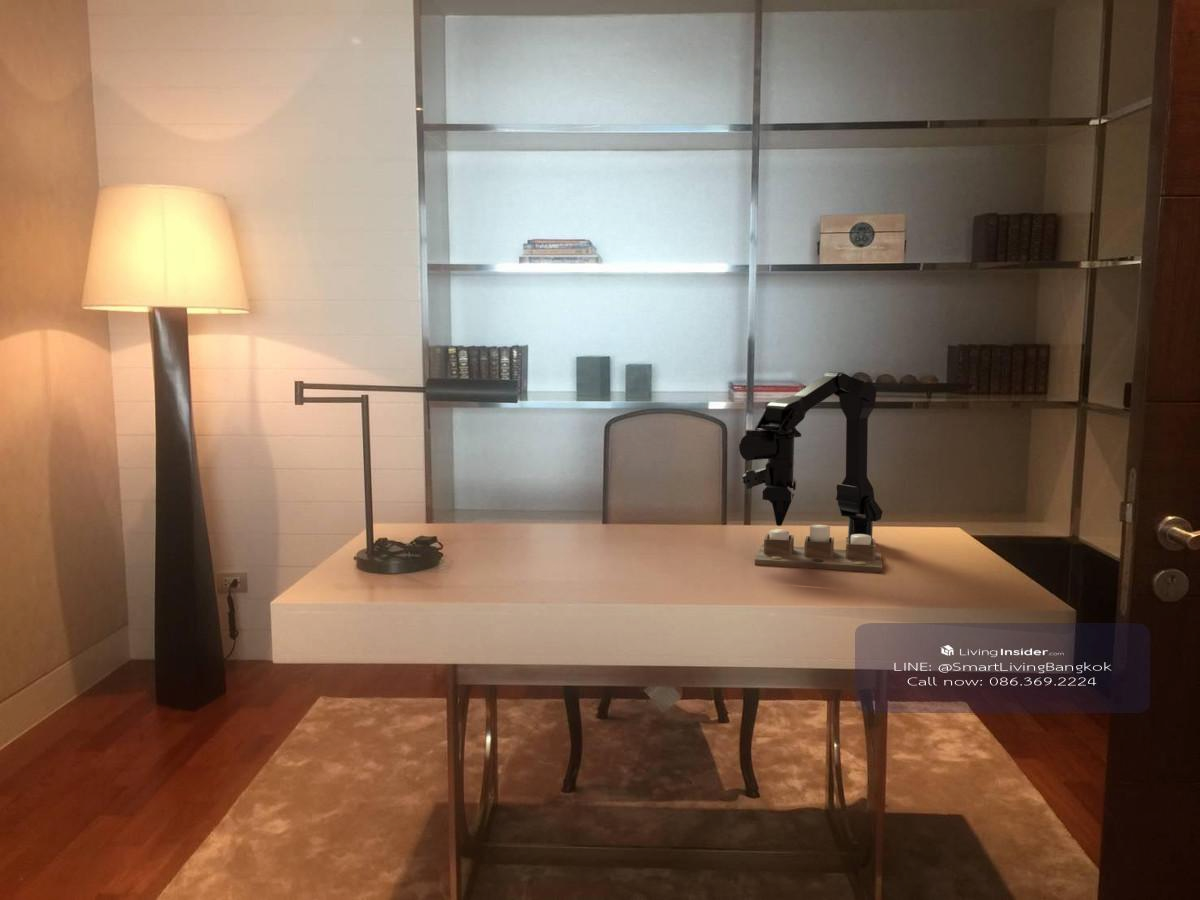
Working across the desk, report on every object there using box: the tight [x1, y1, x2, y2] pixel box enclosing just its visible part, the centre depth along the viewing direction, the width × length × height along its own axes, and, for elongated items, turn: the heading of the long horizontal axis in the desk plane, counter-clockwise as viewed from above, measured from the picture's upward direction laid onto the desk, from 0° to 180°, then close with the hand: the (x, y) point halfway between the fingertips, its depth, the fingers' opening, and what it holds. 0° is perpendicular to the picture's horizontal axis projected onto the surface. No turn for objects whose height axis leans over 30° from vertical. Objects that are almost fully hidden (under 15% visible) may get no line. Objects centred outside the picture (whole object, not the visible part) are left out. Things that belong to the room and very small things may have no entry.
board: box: [754, 533, 883, 574], centre depth 212 cm, size 15×27×4 cm, turn 75°
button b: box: [809, 524, 831, 543], centre depth 213 cm, size 4×4×4 cm
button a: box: [851, 534, 871, 545], centre depth 210 cm, size 4×4×4 cm
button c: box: [768, 528, 790, 540], centre depth 215 cm, size 4×4×4 cm
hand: (779, 525), depth 215 cm, fingers closed
